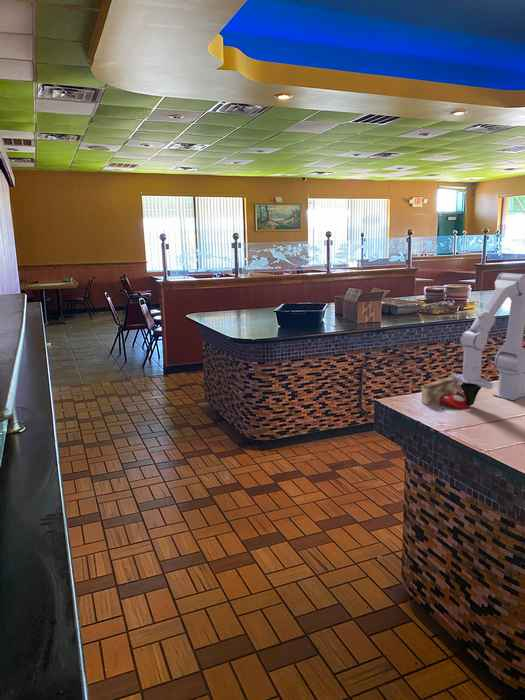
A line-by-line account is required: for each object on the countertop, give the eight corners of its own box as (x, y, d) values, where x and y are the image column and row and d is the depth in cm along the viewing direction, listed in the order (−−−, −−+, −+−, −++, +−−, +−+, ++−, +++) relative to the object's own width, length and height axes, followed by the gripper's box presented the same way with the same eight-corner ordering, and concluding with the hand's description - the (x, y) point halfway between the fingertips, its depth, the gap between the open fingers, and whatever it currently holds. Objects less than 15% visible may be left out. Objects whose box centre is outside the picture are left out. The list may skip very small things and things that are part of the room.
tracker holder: (473, 407, 178) (443, 400, 179) (469, 417, 180) (439, 410, 181) (467, 388, 189) (439, 382, 190) (463, 398, 191) (436, 392, 192)
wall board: (457, 391, 198) (458, 373, 196) (464, 393, 196) (464, 375, 194) (421, 402, 187) (422, 384, 186) (428, 404, 185) (428, 386, 183)
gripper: (446, 363, 182) (444, 401, 185) (484, 372, 170) (482, 412, 173) (459, 360, 186) (457, 397, 189) (497, 368, 174) (494, 407, 177)
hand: (470, 404), depth 181 cm, fingers closed
